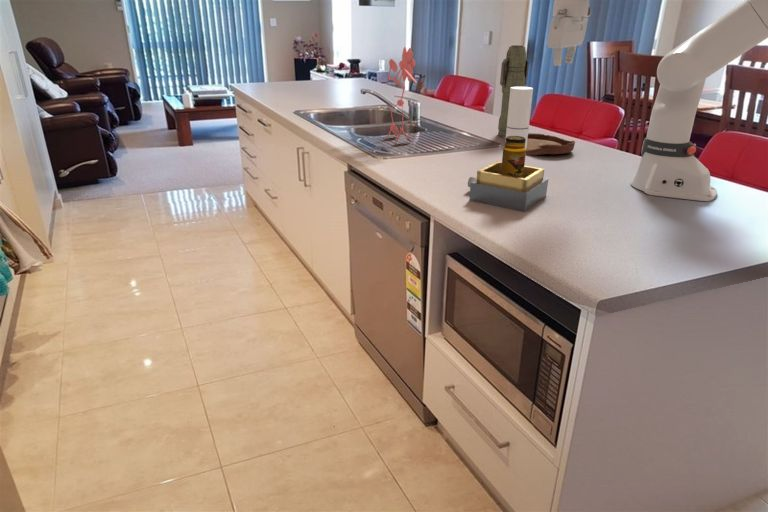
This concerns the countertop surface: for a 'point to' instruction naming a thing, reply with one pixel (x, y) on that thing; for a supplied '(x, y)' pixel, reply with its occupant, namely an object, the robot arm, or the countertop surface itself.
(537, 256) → the countertop surface
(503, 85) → the green stone statue
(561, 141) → the basket
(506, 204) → the grey and gold box
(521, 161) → the condiment
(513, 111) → the cylindrical container
